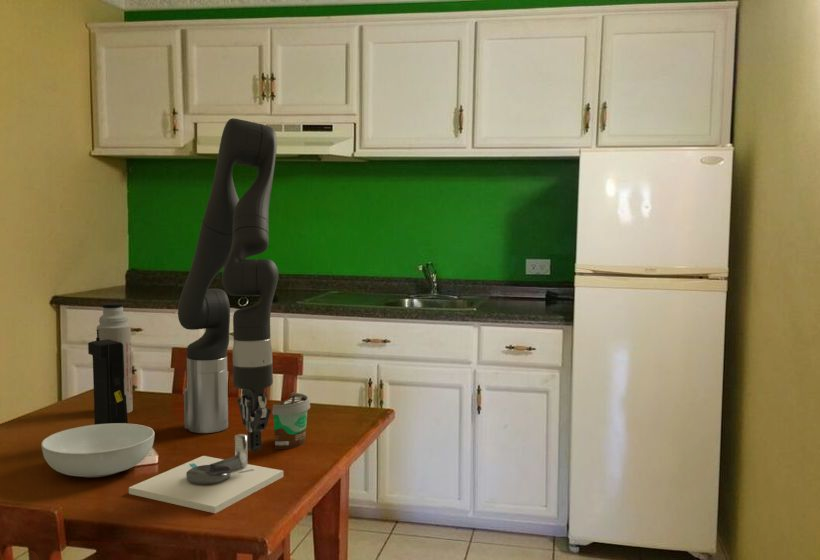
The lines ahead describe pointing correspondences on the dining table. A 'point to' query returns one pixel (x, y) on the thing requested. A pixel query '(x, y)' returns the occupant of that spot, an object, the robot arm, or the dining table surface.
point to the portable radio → (108, 381)
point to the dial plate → (205, 486)
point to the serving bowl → (98, 449)
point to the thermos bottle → (120, 331)
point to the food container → (291, 421)
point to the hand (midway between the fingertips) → (254, 449)
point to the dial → (221, 465)
